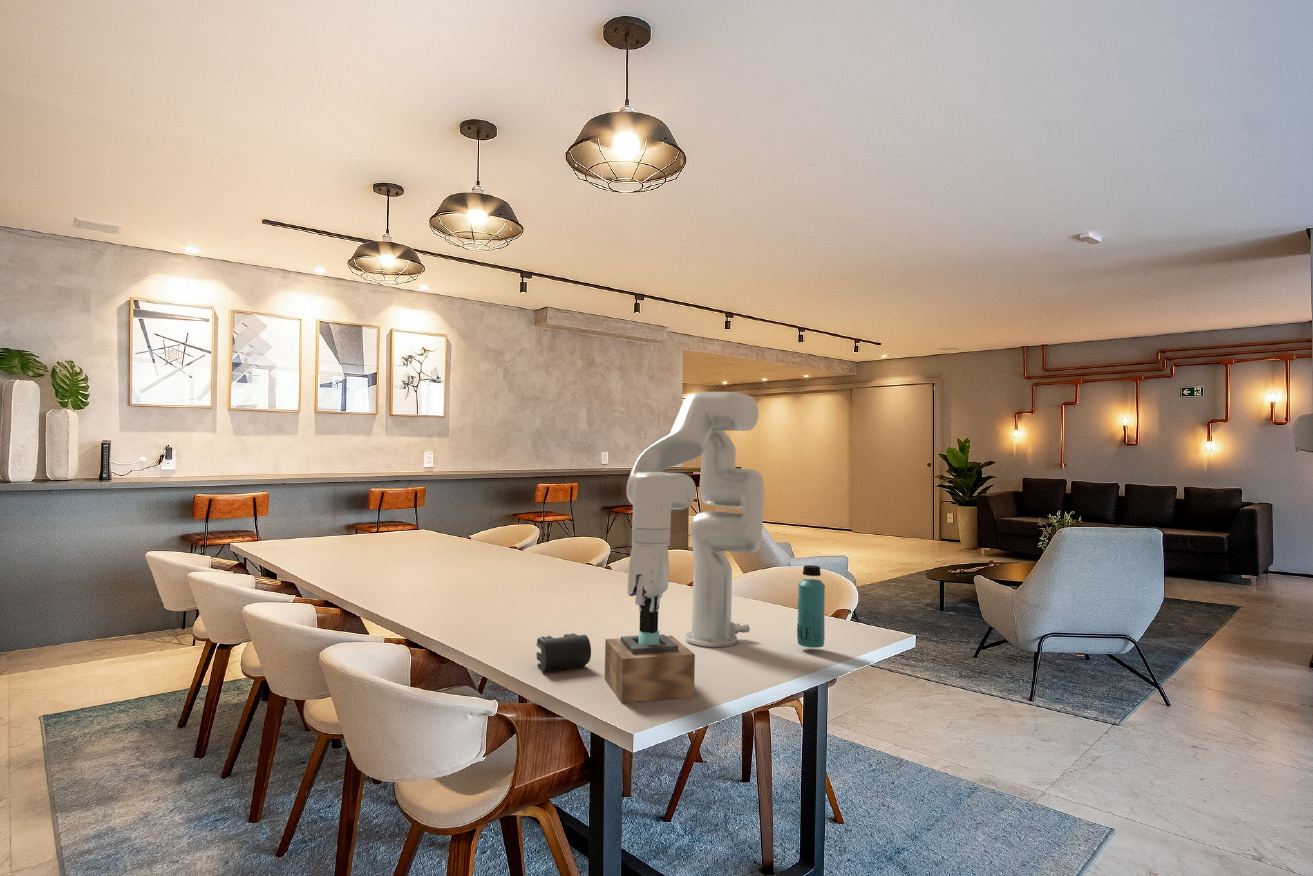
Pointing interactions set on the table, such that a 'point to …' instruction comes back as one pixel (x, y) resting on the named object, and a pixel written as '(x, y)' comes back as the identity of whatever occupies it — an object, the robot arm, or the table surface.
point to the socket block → (649, 669)
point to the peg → (648, 638)
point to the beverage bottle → (811, 609)
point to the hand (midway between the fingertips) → (648, 631)
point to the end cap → (563, 652)
